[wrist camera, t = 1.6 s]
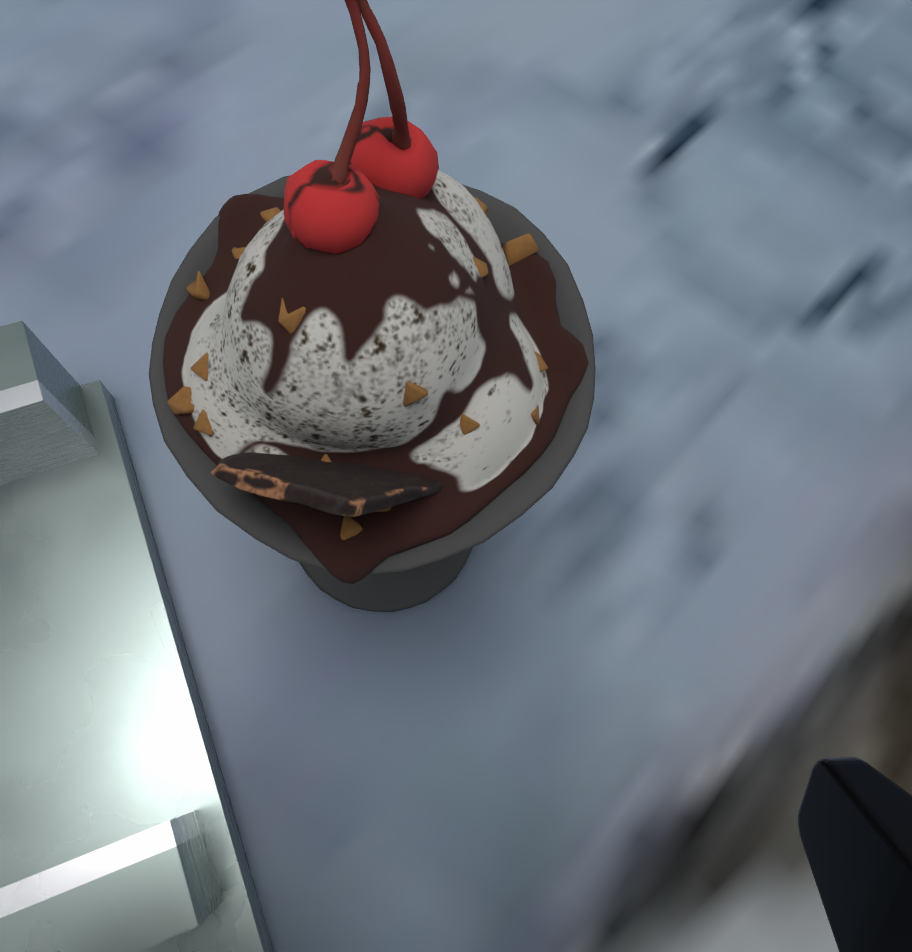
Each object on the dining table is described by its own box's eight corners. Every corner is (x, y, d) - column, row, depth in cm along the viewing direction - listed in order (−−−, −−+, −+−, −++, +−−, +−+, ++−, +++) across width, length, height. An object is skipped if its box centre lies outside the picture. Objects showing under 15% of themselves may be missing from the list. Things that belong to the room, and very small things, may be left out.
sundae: (402, 358, 23) (418, -241, 9) (556, 539, 22) (862, 175, 8) (205, 495, 22) (-158, 27, 7) (359, 699, 20) (284, 615, 6)
